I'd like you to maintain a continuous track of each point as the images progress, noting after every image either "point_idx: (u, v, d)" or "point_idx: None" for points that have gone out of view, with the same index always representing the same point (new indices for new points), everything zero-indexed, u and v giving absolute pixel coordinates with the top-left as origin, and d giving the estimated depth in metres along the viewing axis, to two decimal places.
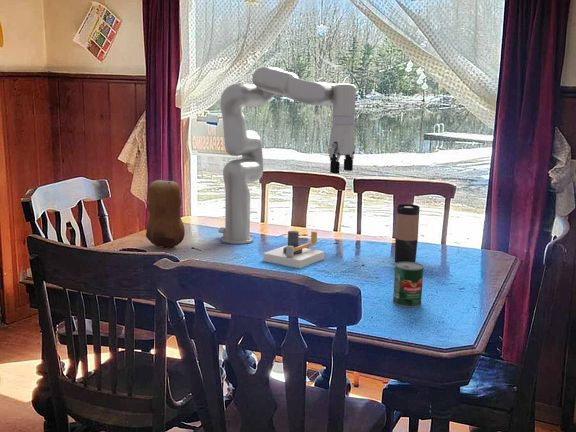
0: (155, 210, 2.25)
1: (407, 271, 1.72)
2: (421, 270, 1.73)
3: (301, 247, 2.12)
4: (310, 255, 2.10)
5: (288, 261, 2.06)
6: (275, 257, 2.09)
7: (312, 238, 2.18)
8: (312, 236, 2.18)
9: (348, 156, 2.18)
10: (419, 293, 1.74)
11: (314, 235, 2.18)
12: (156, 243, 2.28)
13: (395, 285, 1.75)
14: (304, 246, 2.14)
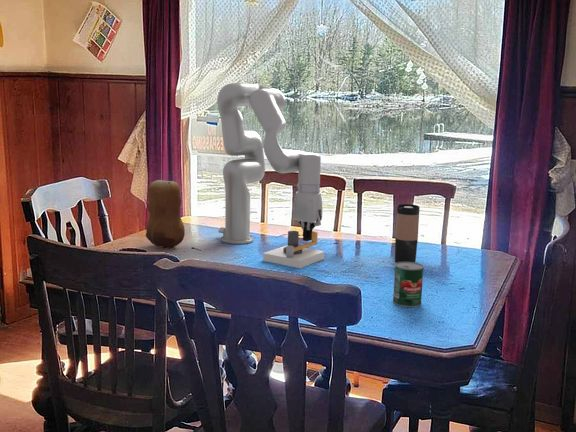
0: (155, 210, 2.25)
1: (407, 271, 1.72)
2: (421, 270, 1.73)
3: (301, 247, 2.12)
4: (310, 255, 2.10)
5: (288, 261, 2.06)
6: (275, 257, 2.09)
7: (313, 238, 2.18)
8: (313, 236, 2.18)
9: (306, 226, 2.21)
10: (419, 293, 1.74)
11: (315, 235, 2.18)
12: (156, 243, 2.28)
13: (395, 285, 1.75)
14: (304, 246, 2.14)
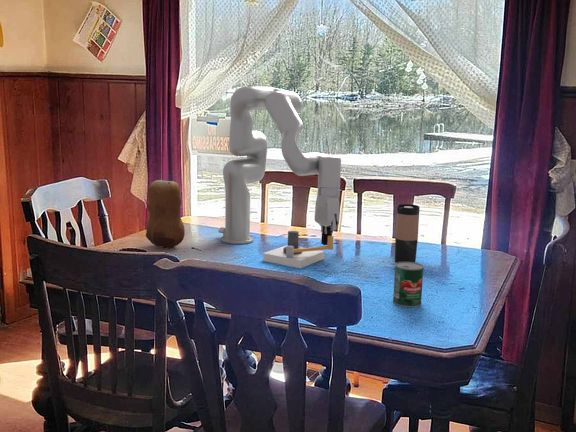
0: (155, 210, 2.25)
1: (407, 271, 1.72)
2: (421, 270, 1.73)
3: (307, 249, 2.09)
4: (310, 255, 2.10)
5: (288, 261, 2.06)
6: (275, 257, 2.09)
7: (327, 242, 2.13)
8: None
9: None
10: (419, 293, 1.74)
11: (329, 239, 2.12)
12: (156, 243, 2.28)
13: (395, 285, 1.75)
14: (312, 249, 2.10)
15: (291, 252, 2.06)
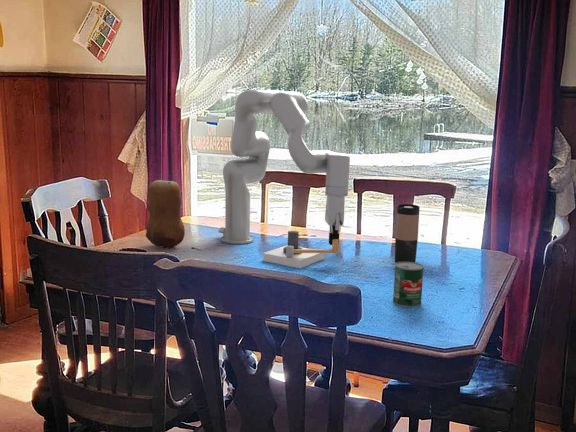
0: (155, 210, 2.25)
1: (407, 271, 1.72)
2: (421, 270, 1.73)
3: (309, 251, 2.07)
4: (310, 255, 2.10)
5: (288, 261, 2.06)
6: (275, 257, 2.09)
7: (332, 246, 2.08)
8: (332, 244, 2.08)
9: None
10: (419, 293, 1.74)
11: (333, 243, 2.07)
12: (156, 243, 2.28)
13: (395, 285, 1.75)
14: (314, 251, 2.07)
15: (290, 252, 2.06)
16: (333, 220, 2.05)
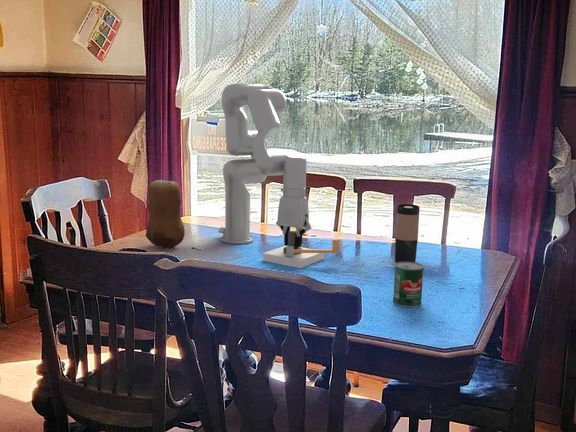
0: (155, 210, 2.25)
1: (407, 271, 1.72)
2: (421, 270, 1.73)
3: (309, 251, 2.07)
4: (310, 255, 2.10)
5: (288, 261, 2.06)
6: (275, 257, 2.09)
7: (332, 246, 2.08)
8: (332, 244, 2.08)
9: (287, 231, 2.14)
10: (419, 293, 1.74)
11: (333, 243, 2.07)
12: (156, 243, 2.28)
13: (395, 285, 1.75)
14: (314, 251, 2.07)
15: (290, 252, 2.06)
16: (304, 221, 2.08)
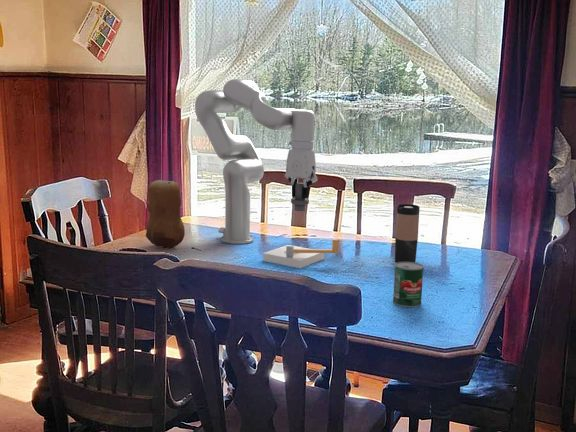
0: (155, 210, 2.25)
1: (407, 271, 1.72)
2: (421, 270, 1.73)
3: (309, 251, 2.07)
4: (310, 255, 2.10)
5: (288, 261, 2.06)
6: (275, 257, 2.09)
7: (332, 246, 2.08)
8: (332, 244, 2.08)
9: (295, 182, 2.24)
10: (419, 293, 1.74)
11: (333, 243, 2.07)
12: (156, 243, 2.28)
13: (395, 285, 1.75)
14: (314, 251, 2.07)
15: (290, 252, 2.06)
16: (310, 173, 2.18)
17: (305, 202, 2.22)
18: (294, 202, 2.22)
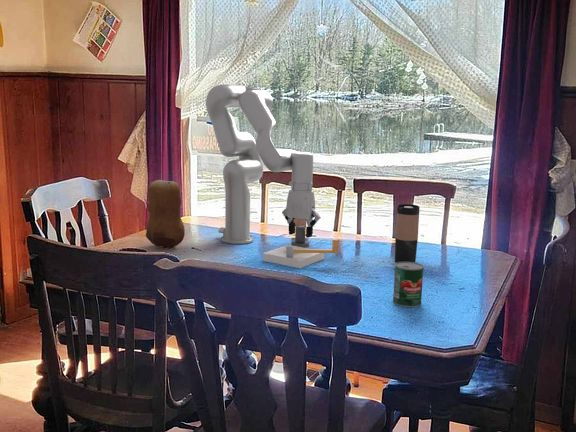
0: (155, 210, 2.25)
1: (407, 271, 1.72)
2: (421, 270, 1.73)
3: (309, 251, 2.07)
4: (310, 255, 2.10)
5: (288, 261, 2.06)
6: (275, 257, 2.09)
7: (332, 246, 2.08)
8: (332, 244, 2.08)
9: (291, 221, 2.29)
10: (419, 293, 1.74)
11: (333, 243, 2.07)
12: (156, 243, 2.28)
13: (395, 285, 1.75)
14: (314, 251, 2.07)
15: (290, 252, 2.06)
16: (310, 213, 2.23)
17: (305, 245, 2.27)
18: (294, 245, 2.27)
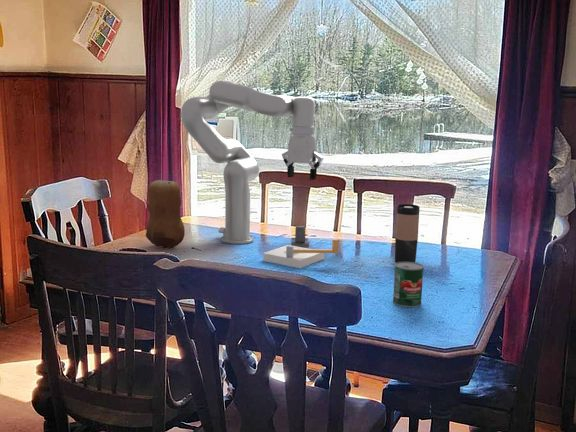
0: (155, 210, 2.25)
1: (407, 271, 1.72)
2: (421, 270, 1.73)
3: (309, 251, 2.07)
4: (310, 255, 2.10)
5: (288, 261, 2.06)
6: (275, 257, 2.09)
7: (332, 246, 2.08)
8: (332, 244, 2.08)
9: None
10: (419, 293, 1.74)
11: (333, 243, 2.07)
12: (156, 243, 2.28)
13: (395, 285, 1.75)
14: (314, 251, 2.07)
15: (290, 252, 2.06)
16: (311, 157, 2.26)
17: (305, 245, 2.27)
18: (294, 245, 2.27)
